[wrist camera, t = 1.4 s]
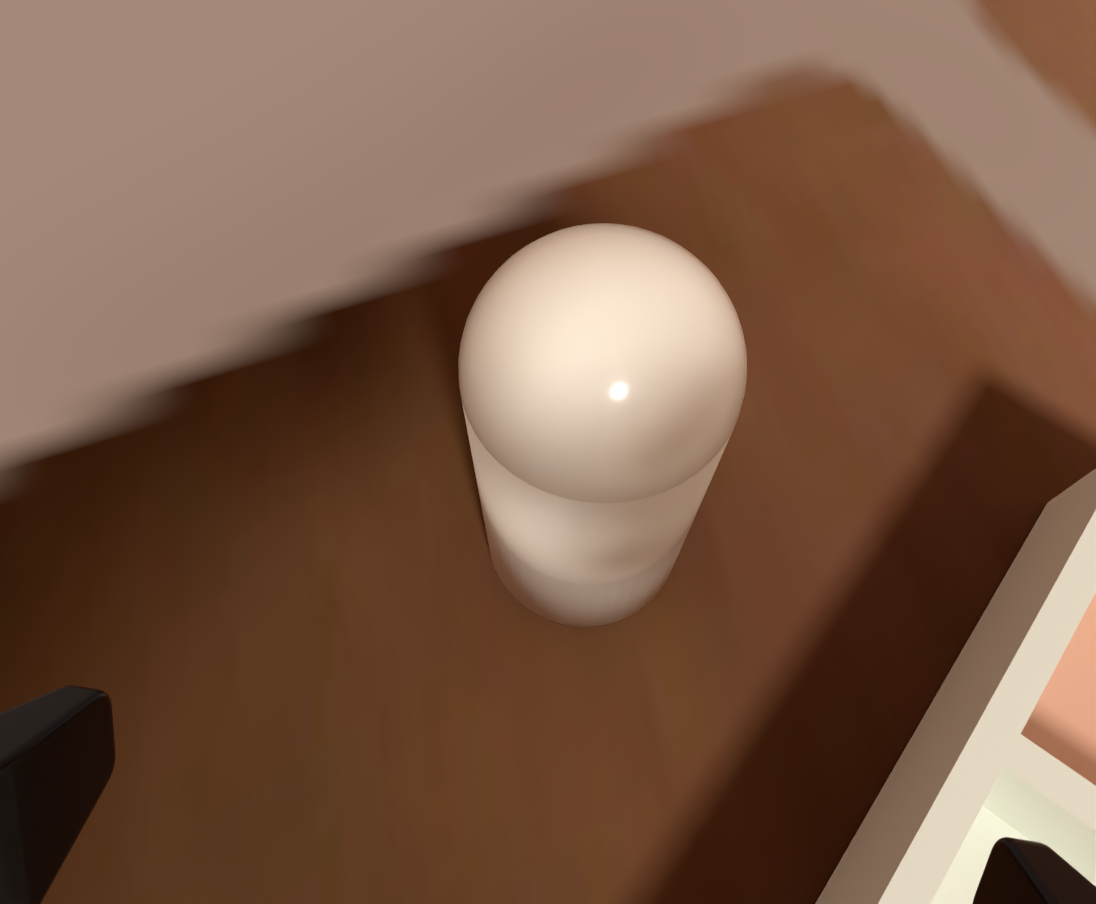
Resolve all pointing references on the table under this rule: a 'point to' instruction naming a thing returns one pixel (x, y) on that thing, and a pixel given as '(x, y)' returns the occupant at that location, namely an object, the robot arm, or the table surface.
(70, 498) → the table surface
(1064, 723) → the compartment tray
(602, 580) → the cream capsule cylinder
